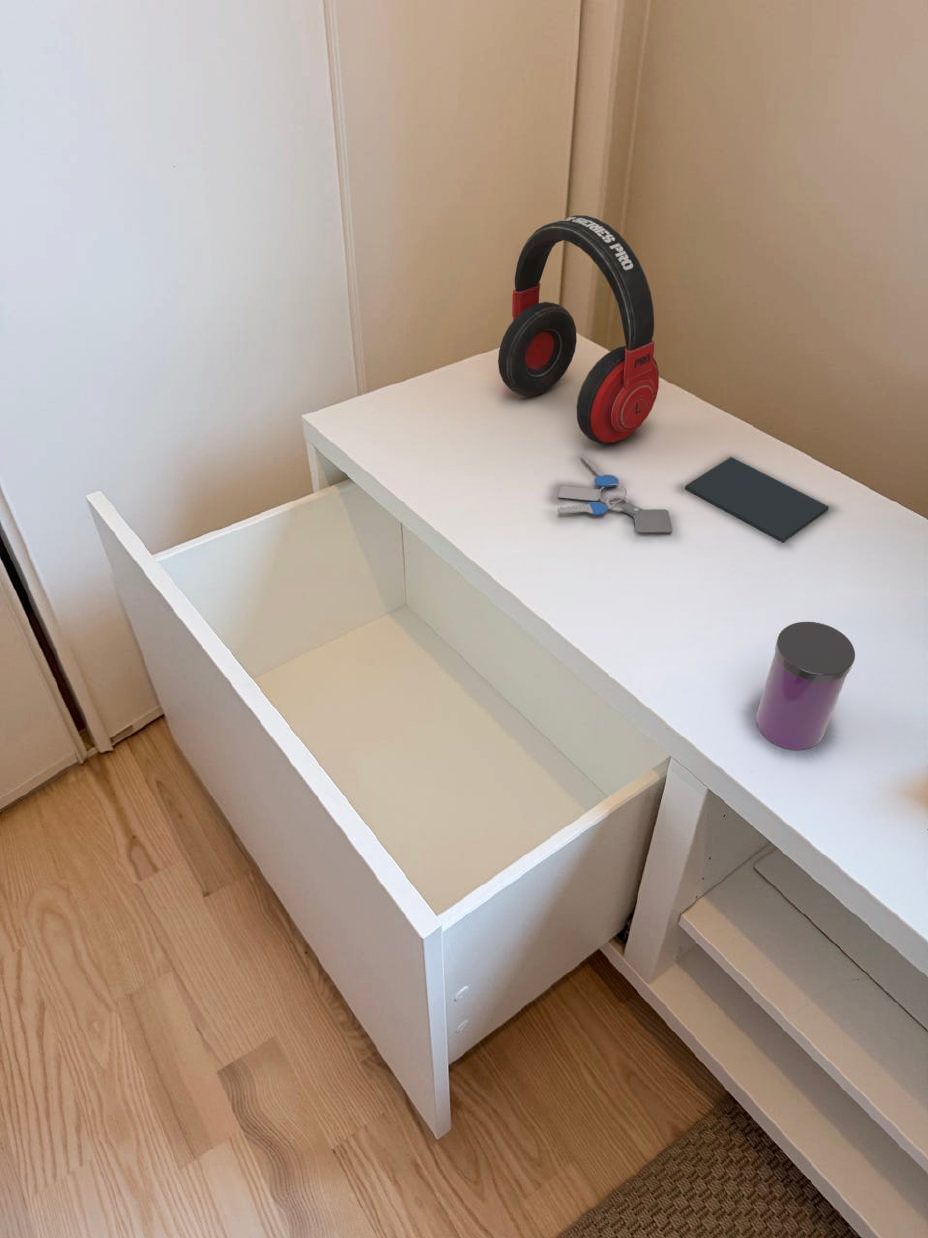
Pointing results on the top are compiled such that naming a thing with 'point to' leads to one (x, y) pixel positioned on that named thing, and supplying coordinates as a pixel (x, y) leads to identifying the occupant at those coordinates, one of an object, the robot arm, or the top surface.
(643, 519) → the key chain
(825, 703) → the tin
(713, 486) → the mat
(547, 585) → the top surface
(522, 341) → the headphones
